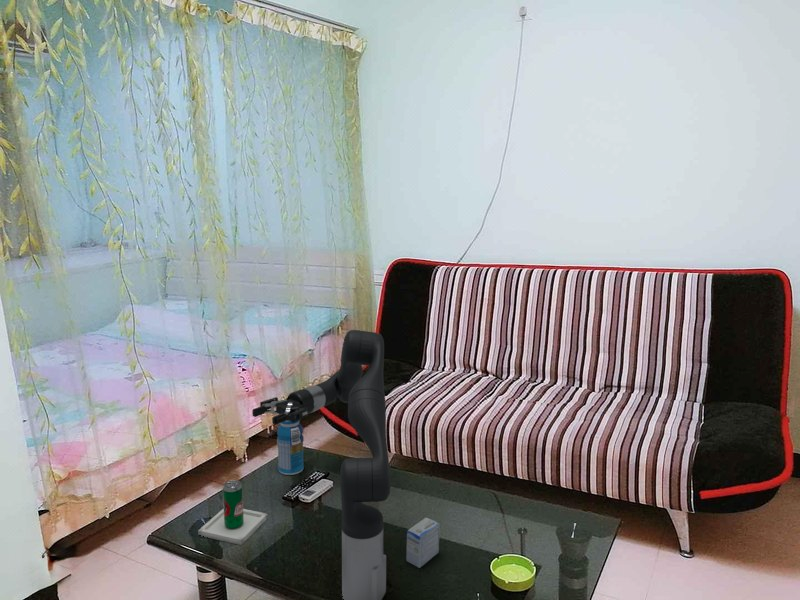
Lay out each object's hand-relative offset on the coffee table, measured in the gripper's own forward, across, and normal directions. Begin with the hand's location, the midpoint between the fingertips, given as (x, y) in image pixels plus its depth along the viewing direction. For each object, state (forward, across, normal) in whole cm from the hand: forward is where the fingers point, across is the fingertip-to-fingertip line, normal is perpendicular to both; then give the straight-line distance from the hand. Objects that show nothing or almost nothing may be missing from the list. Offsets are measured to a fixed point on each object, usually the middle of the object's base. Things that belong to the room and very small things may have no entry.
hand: (263, 417), depth 165 cm
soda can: (+11, 0, +28) cm, 30 cm away
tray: (+11, 0, +28) cm, 30 cm away
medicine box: (-10, +47, +28) cm, 56 cm away
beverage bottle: (-20, -13, +28) cm, 37 cm away
